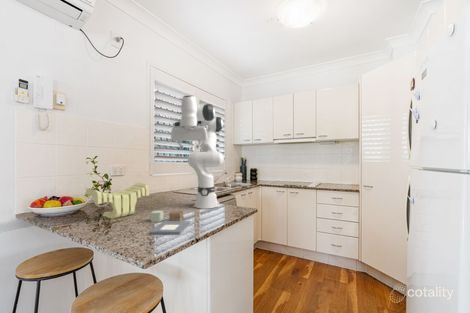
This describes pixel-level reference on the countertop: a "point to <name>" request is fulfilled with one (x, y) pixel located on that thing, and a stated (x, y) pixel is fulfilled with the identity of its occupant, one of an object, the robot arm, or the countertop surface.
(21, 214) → the countertop surface
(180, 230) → the slate board
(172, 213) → the walnut block
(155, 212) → the sage block
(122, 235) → the countertop surface
